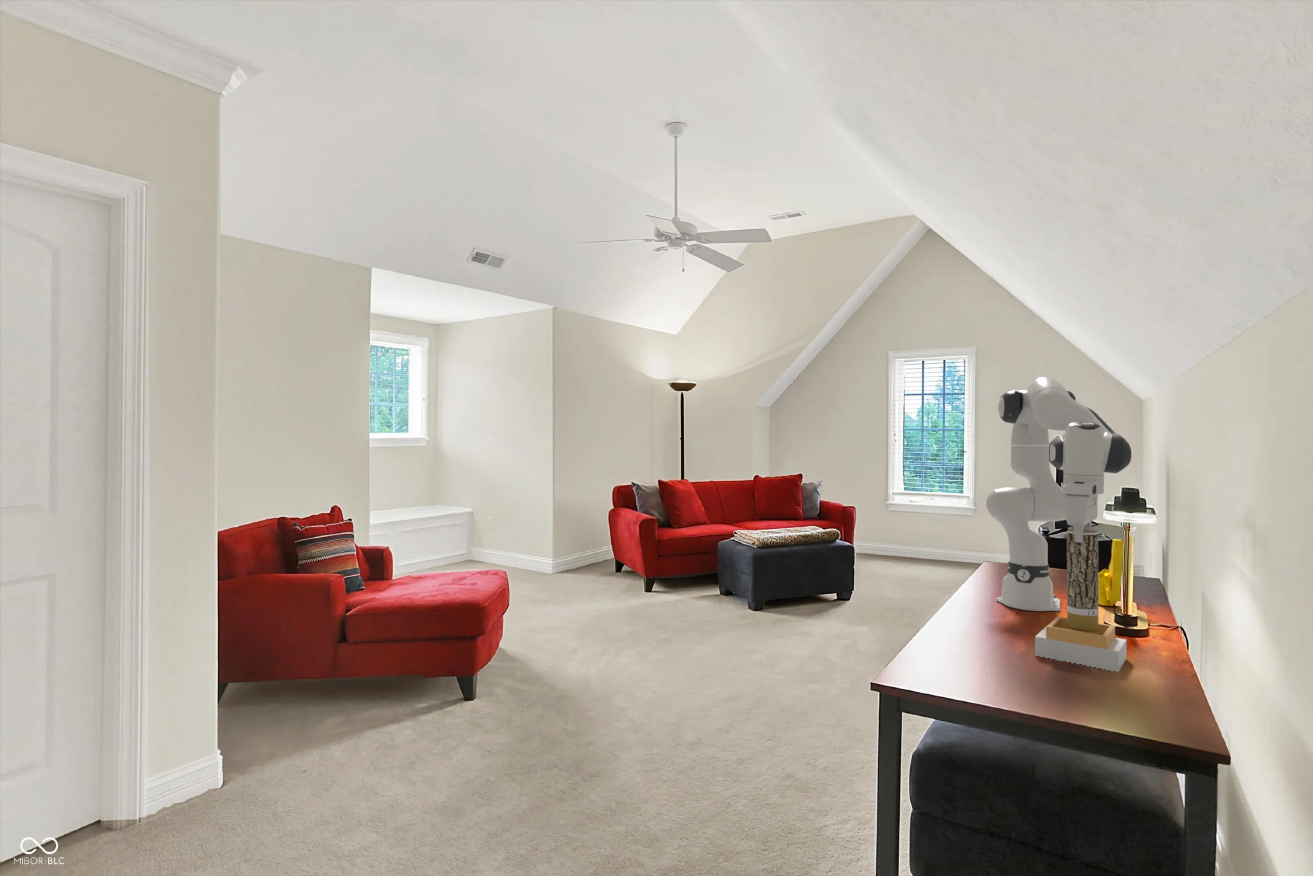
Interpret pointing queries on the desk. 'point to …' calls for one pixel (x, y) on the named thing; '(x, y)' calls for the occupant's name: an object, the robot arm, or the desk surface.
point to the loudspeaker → (1081, 645)
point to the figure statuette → (1111, 577)
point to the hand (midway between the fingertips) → (1082, 540)
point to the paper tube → (1082, 581)
